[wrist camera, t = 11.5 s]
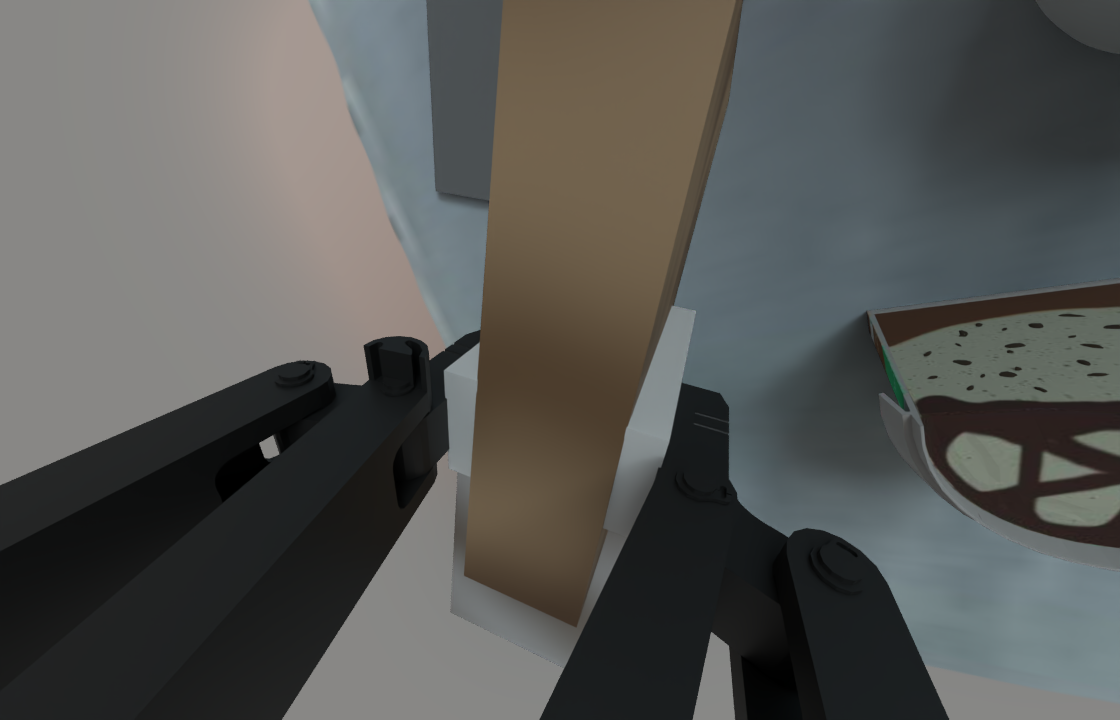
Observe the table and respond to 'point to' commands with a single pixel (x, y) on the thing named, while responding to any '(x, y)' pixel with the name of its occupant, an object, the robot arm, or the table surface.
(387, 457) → the robot arm
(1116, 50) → the grey rounded piece
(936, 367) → the food container
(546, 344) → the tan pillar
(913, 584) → the table surface
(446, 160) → the tool mat
